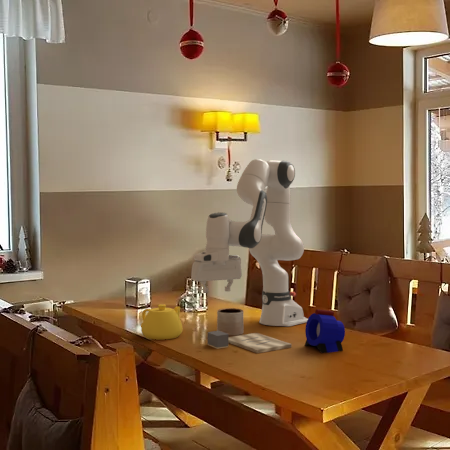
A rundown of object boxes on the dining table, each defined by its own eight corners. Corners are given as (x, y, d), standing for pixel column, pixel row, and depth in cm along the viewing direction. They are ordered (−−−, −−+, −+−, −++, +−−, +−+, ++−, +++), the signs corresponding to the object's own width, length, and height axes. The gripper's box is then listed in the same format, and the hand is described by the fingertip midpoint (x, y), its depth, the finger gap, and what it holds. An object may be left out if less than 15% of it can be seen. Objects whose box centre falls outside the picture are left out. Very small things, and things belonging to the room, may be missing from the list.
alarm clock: (302, 346, 245) (303, 306, 244) (330, 342, 249) (331, 304, 248) (320, 353, 233) (320, 312, 232) (348, 350, 238) (349, 310, 237)
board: (257, 335, 261) (257, 332, 261) (291, 347, 242) (291, 344, 242) (223, 340, 252) (223, 337, 252) (257, 353, 234) (257, 350, 234)
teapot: (165, 342, 250) (165, 310, 249) (128, 336, 259) (128, 305, 259) (195, 332, 266) (195, 302, 266) (159, 327, 276) (158, 297, 276)
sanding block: (218, 343, 249) (218, 330, 248) (228, 347, 243) (228, 334, 243) (207, 345, 246) (207, 332, 246) (217, 349, 240) (217, 335, 240)
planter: (249, 333, 265) (249, 310, 264) (231, 338, 257) (231, 314, 256) (229, 329, 272) (229, 306, 271) (211, 333, 264) (211, 310, 264)
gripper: (236, 254, 252) (236, 289, 252) (189, 255, 242) (189, 292, 242) (245, 255, 246) (244, 291, 247) (197, 257, 236) (196, 294, 237)
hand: (216, 291), depth 244 cm, fingers open, 8 cm apart
